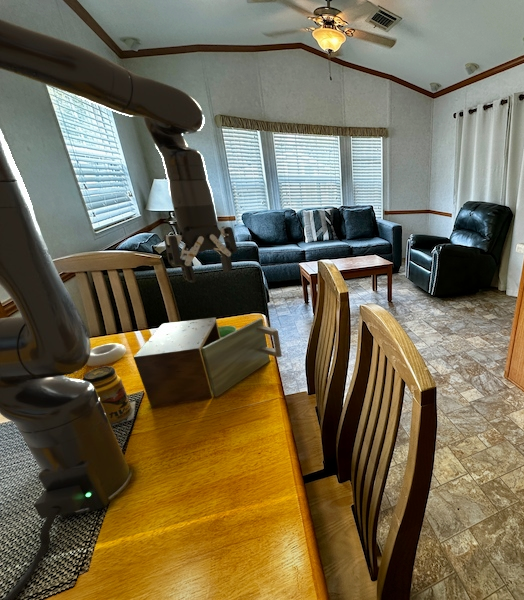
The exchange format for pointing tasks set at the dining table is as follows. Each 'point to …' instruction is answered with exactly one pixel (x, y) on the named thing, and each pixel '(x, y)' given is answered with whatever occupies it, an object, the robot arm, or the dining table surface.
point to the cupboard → (177, 362)
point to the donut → (106, 354)
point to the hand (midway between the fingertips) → (210, 276)
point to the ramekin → (226, 330)
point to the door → (239, 355)
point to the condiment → (111, 394)
